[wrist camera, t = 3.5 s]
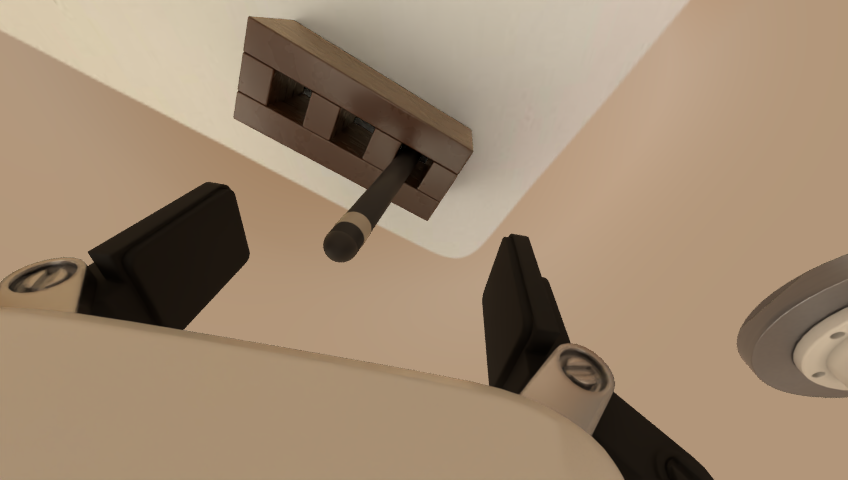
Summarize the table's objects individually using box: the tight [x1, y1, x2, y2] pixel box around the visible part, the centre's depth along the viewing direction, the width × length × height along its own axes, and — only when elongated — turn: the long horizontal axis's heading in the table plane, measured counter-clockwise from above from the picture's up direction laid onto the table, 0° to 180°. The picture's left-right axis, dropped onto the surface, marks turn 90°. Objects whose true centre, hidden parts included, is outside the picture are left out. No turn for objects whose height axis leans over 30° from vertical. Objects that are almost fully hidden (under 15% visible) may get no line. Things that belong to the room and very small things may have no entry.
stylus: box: [323, 145, 423, 262], centre depth 15 cm, size 1×1×13 cm
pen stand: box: [234, 16, 473, 221], centre depth 18 cm, size 5×12×4 cm, turn 61°
